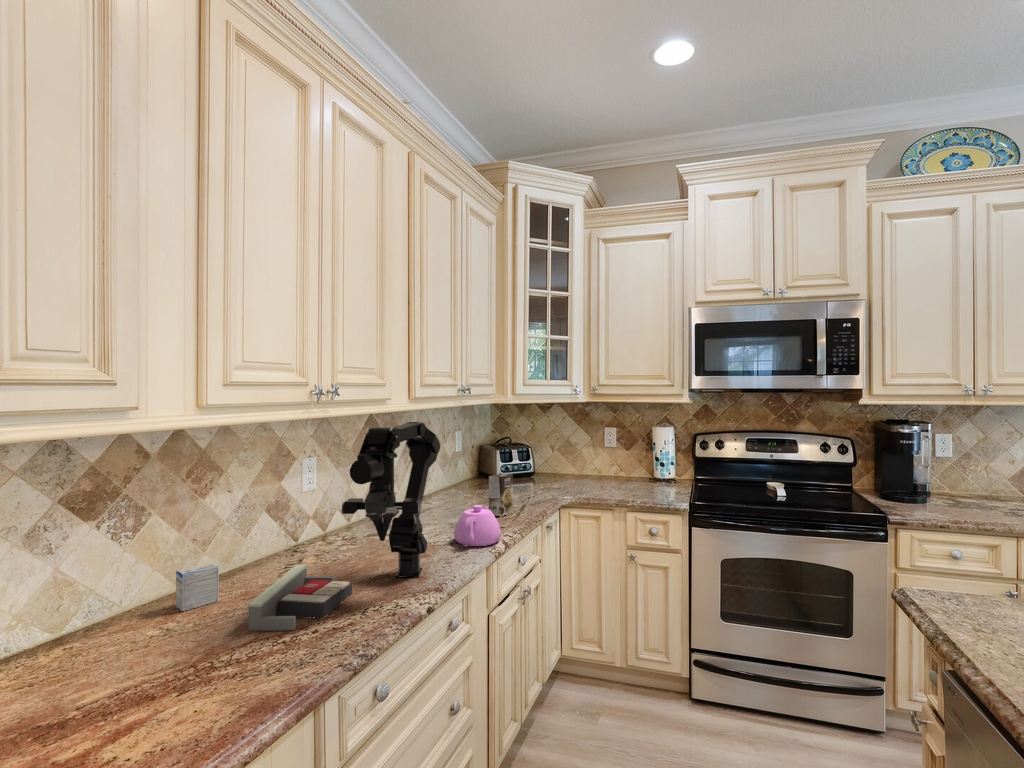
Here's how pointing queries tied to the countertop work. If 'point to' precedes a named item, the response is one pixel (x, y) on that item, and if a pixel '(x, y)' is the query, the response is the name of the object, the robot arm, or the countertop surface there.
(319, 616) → the calculator
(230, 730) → the countertop surface
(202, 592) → the medicine box
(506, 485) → the coffee box
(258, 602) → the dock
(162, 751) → the countertop surface
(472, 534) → the teapot
